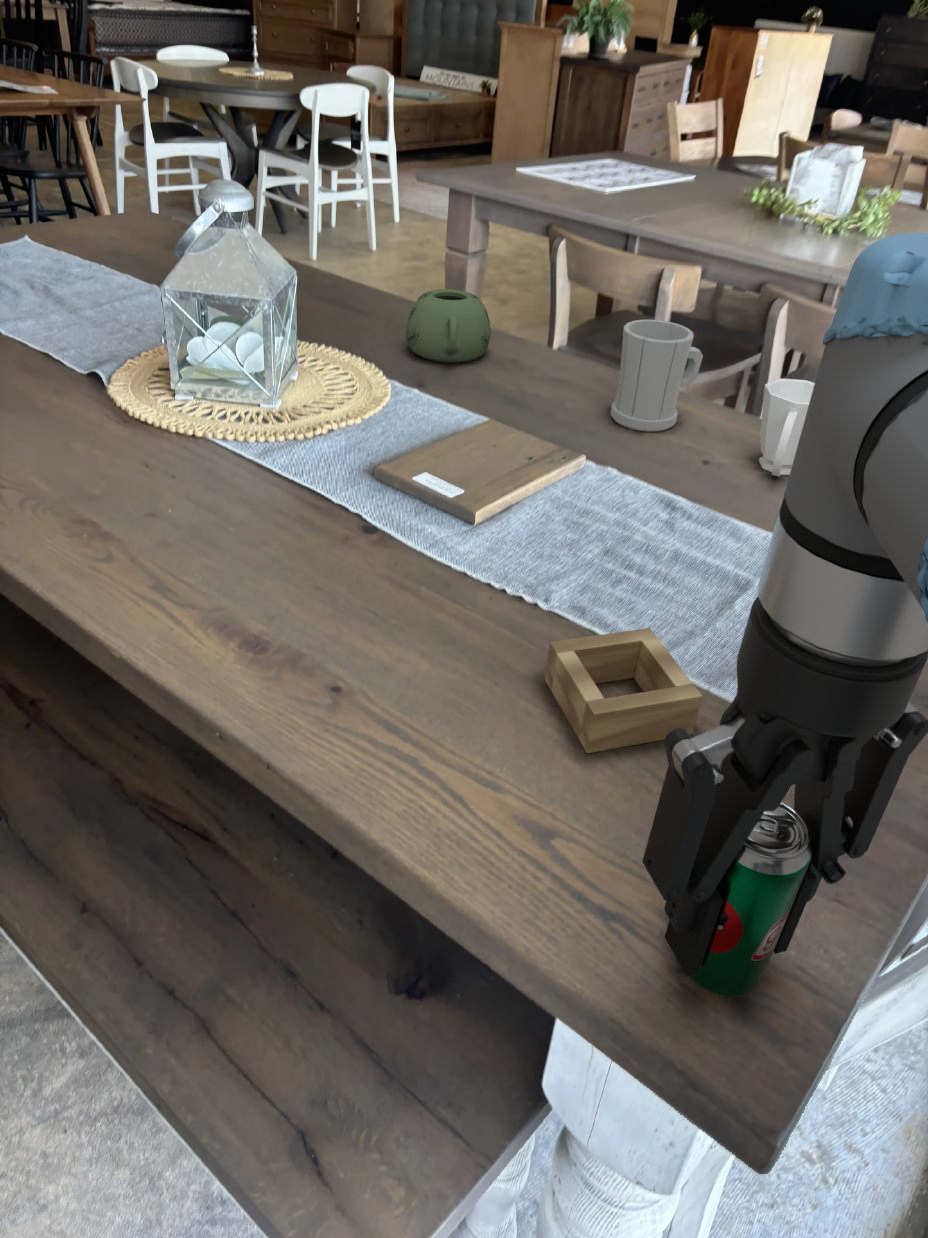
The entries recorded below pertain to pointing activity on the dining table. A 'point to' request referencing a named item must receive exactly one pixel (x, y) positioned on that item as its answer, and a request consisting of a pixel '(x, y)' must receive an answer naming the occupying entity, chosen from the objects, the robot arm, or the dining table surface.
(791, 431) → the cup
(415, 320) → the mug
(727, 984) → the soda can
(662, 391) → the cup
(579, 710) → the holder
